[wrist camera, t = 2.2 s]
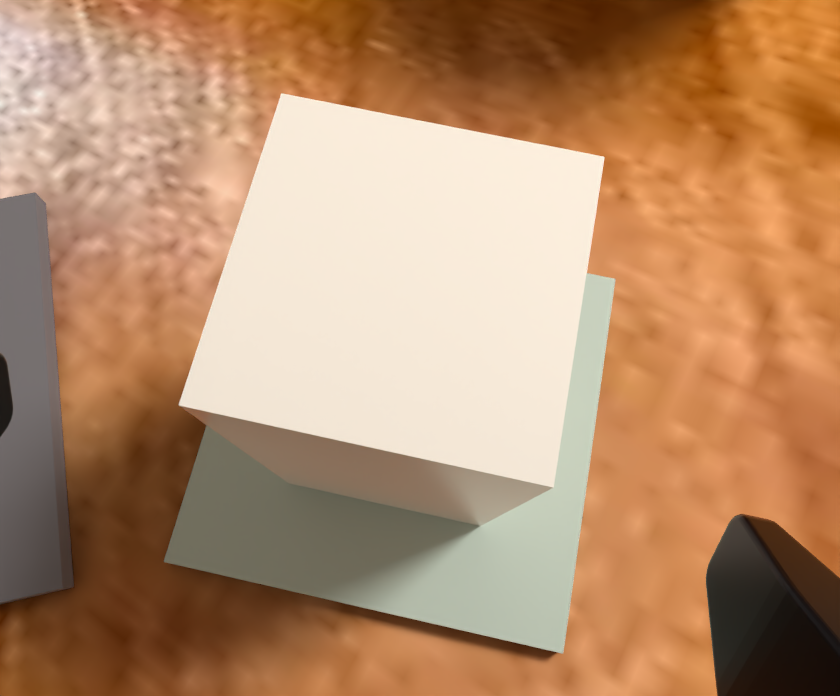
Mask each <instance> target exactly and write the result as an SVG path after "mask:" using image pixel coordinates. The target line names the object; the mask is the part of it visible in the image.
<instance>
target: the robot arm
mask: <svg viewBox="0 0 840 696" xmlns="http://www.w3.org/2000/svg"><path fill="white" fill-rule="evenodd" d="M12 415H13V401H12V393H11V386H10V379H9V372H8V365H7V361H6V359H5V357H4V356H3V354H1V353H0V437H1V436H2V434H3V433H4V432H5V430H6V429H7V427H8V426H9V423H10V421H11V419H12ZM706 588H707V598H708V608H709V618H710V628H711V638H712V648H713V658H714V668H715V678H716V687H717V695H718V696H840V578H839V577H838V576H837V575H835V574H834V573H833V572H832V571H831V570H830V569H828V568H827V567H826V566H825V565H824V564H823V563H822V562H820V561H819V560H818V559H817V558H816V557H815V556H814V555H812V554H811V553H810V552H809V551H808V550H807V549H806V548H804V547H803V546H802V545H801V544H800V543H799V542H797V541H796V540H795V539H794V538H793V537H792V536H791V535H789V534H788V533H787V532H786V531H785V530H784V529H783V528H781V527H780V526H779V525H778V524H777V523H775V522H773V521H771V520H768V519H763V518H759V517H754V516H749V515H745V514H740V515H737V516H735V517H734V518H733V519H732V520H731V521H730V523H729V524H728V526H727V528H726V530H725V532H724V534H723V536H722V538H721V540H720V542H719V544H718V546H717V548H716V550H715V552H714V554H713V556H712V558H711V560H710V562H709V565H708V569H707V574H706Z"/></svg>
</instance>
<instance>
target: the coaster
mask: <svg viewBox="0 0 840 696" xmlns="http://www.w3.org/2000/svg"><path fill="white" fill-rule="evenodd" d="M614 286H615V279H613V278H608V277H603V276H598V275H593V274H589V273H587V274H586V281H585V287H584V294H583V300H582V307H581V313H580V320H579V326H578V333H577V339H576V346H575V352H574V359H573V365H572V372H571V378H570V385H569V391H568V398H567V404H566V411H565V417H564V424H563V430H562V437H561V443H560V450H559V456H558V463H557V469H556V476H555V482H554V488H552V489H550V490H548V491H546V492H544V493H542V494H541V495H539V496H537V497H535V498H533V499H531V500H529V501H527V502H525V503H523V504H521V505H520V506H518V507H516V508H514V509H512V510H510V511H508V512H506V513H504V514H502V515H501V516H499V517H497V518H495V519H493V520H491V521H489V522H487V523H485V524H483V525H481V526H478V525H473V524H469V523H464V522H460V521H455V520H451V519H446V518H442V517H437V516H433V515H428V514H424V513H419V512H415V511H410V510H406V509H401V508H397V507H392V506H388V505H383V504H379V503H374V502H370V501H365V500H361V499H356V498H352V497H347V496H343V495H338V494H334V493H329V492H325V491H320V490H316V489H311V488H307V487H302V486H298V485H293V484H289V483H287V482H286V481H285V480H283V479H282V478H280V477H279V476H278V475H276V474H275V473H273V472H272V471H270V470H269V469H268V468H266V467H265V466H263V465H262V464H261V463H259V462H258V461H256V460H255V459H254V458H252V457H251V456H249V455H248V454H246V453H245V452H244V451H242V450H241V449H239V448H238V447H237V446H235V445H234V444H232V443H231V442H230V441H228V440H227V439H225V438H224V437H222V436H221V435H220V434H218V433H217V432H215V431H214V430H213V429H211V428H210V427H208V426H207V425H206V428H205V432H204V435H203V438H202V441H201V444H200V448H199V451H198V454H197V457H196V460H195V463H194V467H193V470H192V473H191V476H190V479H189V482H188V486H187V489H186V492H185V495H184V498H183V502H182V505H181V508H180V511H179V514H178V517H177V521H176V524H175V527H174V530H173V533H172V536H171V540H170V543H169V546H168V549H167V552H166V556H165V559H164V562H166V563H171V564H175V565H179V566H184V567H188V568H193V569H197V570H201V571H206V572H210V573H214V574H219V575H223V576H227V577H232V578H236V579H240V580H245V581H249V582H254V583H258V584H262V585H267V586H271V587H275V588H280V589H284V590H288V591H293V592H297V593H301V594H306V595H310V596H314V597H319V598H323V599H328V600H332V601H336V602H341V603H345V604H349V605H354V606H358V607H362V608H367V609H371V610H375V611H380V612H384V613H388V614H393V615H397V616H402V617H406V618H410V619H415V620H419V621H423V622H428V623H432V624H436V625H441V626H445V627H449V628H454V629H458V630H462V631H467V632H471V633H476V634H480V635H484V636H489V637H493V638H497V639H502V640H506V641H510V642H515V643H519V644H523V645H528V646H532V647H536V648H541V649H545V650H550V651H554V652H558V653H563V651H564V644H565V637H566V630H567V623H568V616H569V608H570V601H571V594H572V587H573V580H574V573H575V565H576V558H577V551H578V544H579V537H580V530H581V522H582V515H583V508H584V501H585V494H586V487H587V479H588V472H589V465H590V458H591V451H592V444H593V436H594V429H595V422H596V415H597V408H598V401H599V393H600V386H601V379H602V372H603V365H604V357H605V350H606V343H607V336H608V329H609V322H610V314H611V307H612V300H613V293H614Z"/></svg>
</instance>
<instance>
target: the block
mask: <svg viewBox="0 0 840 696" xmlns="http://www.w3.org/2000/svg"><path fill="white" fill-rule="evenodd" d="M603 164H604V157H602V156H597V155H592V154H587V153H582V152H577V151H572V150H567V149H562V148H557V147H552V146H546V145H541V144H536V143H531V142H526V141H521V140H516V139H511V138H506V137H501V136H496V135H491V134H486V133H480V132H475V131H470V130H465V129H460V128H455V127H450V126H445V125H440V124H435V123H430V122H425V121H419V120H414V119H409V118H404V117H399V116H394V115H389V114H384V113H379V112H374V111H369V110H364V109H359V108H353V107H348V106H343V105H338V104H333V103H328V102H323V101H318V100H313V99H308V98H303V97H298V96H292V95H287V94H282V93H281V97H280V100H279V103H278V106H277V109H276V112H275V115H274V118H273V121H272V124H271V127H270V130H269V133H268V136H267V139H266V142H265V145H264V148H263V151H262V154H261V157H260V160H259V163H258V166H257V169H256V172H255V175H254V178H253V181H252V184H251V187H250V190H249V193H248V196H247V199H246V202H245V206H244V209H243V212H242V215H241V218H240V221H239V224H238V227H237V230H236V233H235V236H234V239H233V242H232V245H231V248H230V251H229V254H228V257H227V260H226V263H225V266H224V269H223V272H222V275H221V278H220V281H219V284H218V287H217V290H216V293H215V296H214V299H213V302H212V305H211V308H210V311H209V314H208V318H207V321H206V324H205V327H204V330H203V333H202V336H201V339H200V342H199V345H198V348H197V351H196V354H195V357H194V360H193V363H192V366H191V369H190V372H189V375H188V378H187V381H186V384H185V387H184V390H183V393H182V396H181V399H180V402H179V406H180V407H181V408H183V409H184V410H186V411H187V412H189V413H190V414H191V415H193V416H194V417H196V418H197V419H198V420H200V421H201V422H203V423H204V424H205V425H207V426H208V427H210V428H211V429H213V430H214V431H215V432H217V433H218V434H220V435H221V436H222V437H224V438H225V439H227V440H228V441H230V442H231V443H232V444H234V445H235V446H237V447H238V448H239V449H241V450H242V451H244V452H245V453H246V454H248V455H249V456H251V457H252V458H254V459H255V460H256V461H258V462H259V463H261V464H262V465H263V466H265V467H266V468H268V469H269V470H270V471H272V472H273V473H275V474H276V475H278V476H279V477H280V478H282V479H283V480H285V481H286V482H287V483H289V484H293V485H298V486H302V487H307V488H311V489H316V490H320V491H325V492H329V493H334V494H338V495H343V496H347V497H352V498H356V499H361V500H365V501H370V502H374V503H379V504H383V505H388V506H392V507H397V508H401V509H406V510H410V511H415V512H419V513H424V514H428V515H433V516H437V517H442V518H446V519H451V520H455V521H460V522H464V523H469V524H473V525H478V526H481V525H483V524H485V523H487V522H489V521H491V520H493V519H495V518H497V517H499V516H501V515H502V514H504V513H506V512H508V511H510V510H512V509H514V508H516V507H518V506H520V505H521V504H523V503H525V502H527V501H529V500H531V499H533V498H535V497H537V496H539V495H541V494H542V493H544V492H546V491H548V490H550V489H552V488H554V482H555V476H556V469H557V463H558V456H559V450H560V443H561V437H562V430H563V424H564V417H565V411H566V404H567V398H568V391H569V385H570V378H571V372H572V365H573V359H574V352H575V346H576V339H577V333H578V326H579V320H580V313H581V307H582V300H583V294H584V287H585V281H586V274H587V268H588V261H589V255H590V248H591V242H592V235H593V229H594V222H595V216H596V209H597V203H598V196H599V190H600V183H601V177H602V170H603Z"/></svg>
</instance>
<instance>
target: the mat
mask: <svg viewBox="0 0 840 696" xmlns="http://www.w3.org/2000/svg"><path fill="white" fill-rule="evenodd" d="M0 353H1V354H3V356H4V357H5V359H6V361H7V365H8V372H9V379H10V386H11V393H12V401H13V415H12V419H11V421H10V423H9V426H8V427H7V429H6V430H5V432H4V433H3V434H2V436H1V437H0V604H4V603H8V602H13V601H17V600H21V599H25V598H30V597H34V596H38V595H43V594H47V593H51V592H56V591H60V590H64V589H69V588H73V587H74V580H73V566H72V553H71V539H70V526H69V512H68V499H67V485H66V472H65V458H64V445H63V431H62V418H61V404H60V391H59V377H58V364H57V350H56V337H55V323H54V310H53V296H52V283H51V269H50V256H49V242H48V229H47V215H46V203H45V202H44V201H43V200H42V199H41V198H40V197H39V196H38V195H37V194H36V193H30V194H25V195H19V196H14V197H8V198H3V199H0Z"/></svg>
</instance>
